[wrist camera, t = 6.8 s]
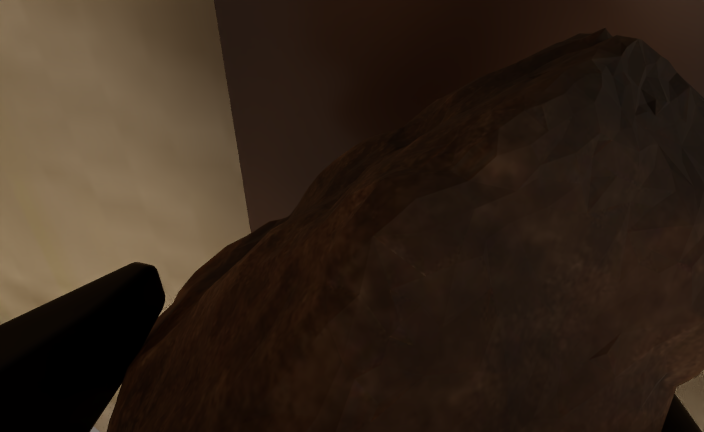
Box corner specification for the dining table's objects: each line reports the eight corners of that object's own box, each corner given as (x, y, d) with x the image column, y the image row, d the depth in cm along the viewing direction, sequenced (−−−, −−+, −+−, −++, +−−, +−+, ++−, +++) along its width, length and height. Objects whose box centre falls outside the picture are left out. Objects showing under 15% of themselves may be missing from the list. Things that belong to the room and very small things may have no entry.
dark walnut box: (804, -295, 10) (912, -349, 7) (575, 322, 21) (579, 405, 18) (256, -261, 13) (166, -290, 10) (302, 264, 24) (265, 327, 21)
